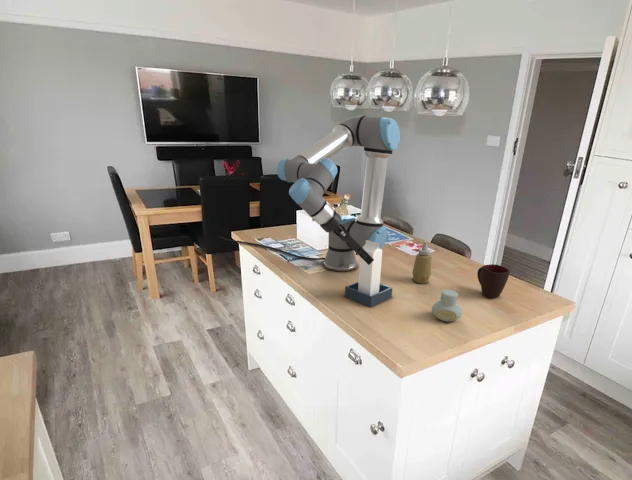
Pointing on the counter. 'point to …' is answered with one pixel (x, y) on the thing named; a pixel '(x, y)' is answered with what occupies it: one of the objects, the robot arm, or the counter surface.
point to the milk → (370, 270)
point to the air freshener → (447, 306)
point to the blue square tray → (368, 300)
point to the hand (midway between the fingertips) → (364, 256)
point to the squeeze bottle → (422, 265)
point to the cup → (492, 279)
